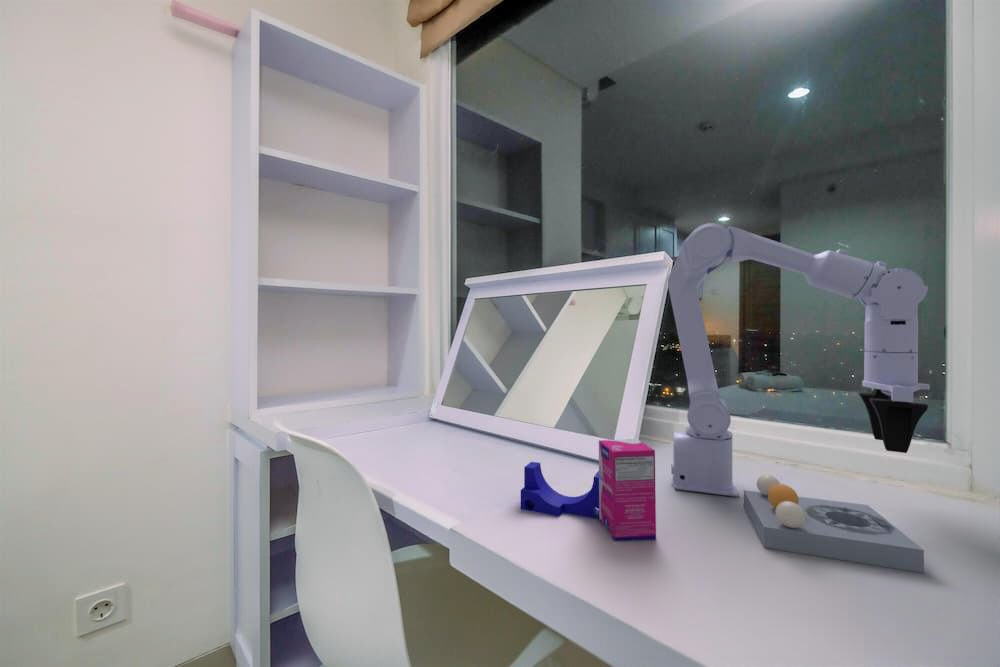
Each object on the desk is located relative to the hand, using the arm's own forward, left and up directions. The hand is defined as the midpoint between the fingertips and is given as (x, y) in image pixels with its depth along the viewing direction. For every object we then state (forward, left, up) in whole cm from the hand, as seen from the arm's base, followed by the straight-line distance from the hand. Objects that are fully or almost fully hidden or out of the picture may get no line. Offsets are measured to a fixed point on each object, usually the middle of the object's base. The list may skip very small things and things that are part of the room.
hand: (889, 445), depth 61 cm
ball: (-16, -12, -6) cm, 21 cm away
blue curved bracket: (-44, -16, -10) cm, 48 cm away
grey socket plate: (-12, -12, -10) cm, 19 cm away
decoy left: (-16, -6, -6) cm, 19 cm away
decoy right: (-16, -17, -6) cm, 24 cm away
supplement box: (-35, -20, -10) cm, 42 cm away
